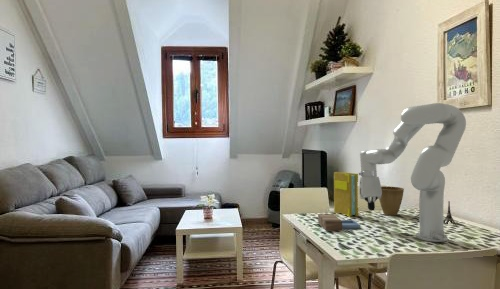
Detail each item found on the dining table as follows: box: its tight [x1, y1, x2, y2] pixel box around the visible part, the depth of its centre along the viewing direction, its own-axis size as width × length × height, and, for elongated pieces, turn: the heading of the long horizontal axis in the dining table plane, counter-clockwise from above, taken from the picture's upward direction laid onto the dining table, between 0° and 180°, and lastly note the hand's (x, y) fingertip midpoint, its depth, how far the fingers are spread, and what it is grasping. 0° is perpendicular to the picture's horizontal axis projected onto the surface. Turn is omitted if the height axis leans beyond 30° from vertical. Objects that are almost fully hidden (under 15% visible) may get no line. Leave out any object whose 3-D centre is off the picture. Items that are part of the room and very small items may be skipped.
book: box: [333, 171, 359, 217], centre depth 204 cm, size 17×7×25 cm, turn 22°
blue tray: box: [340, 219, 361, 230], centre depth 173 cm, size 11×16×2 cm
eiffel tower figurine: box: [444, 200, 457, 226], centre depth 178 cm, size 15×10×13 cm
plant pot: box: [379, 185, 405, 217], centre depth 202 cm, size 15×15×16 cm
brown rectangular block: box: [317, 213, 343, 232], centre depth 173 cm, size 16×8×5 cm, turn 2°
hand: (371, 210), depth 172 cm, fingers closed
